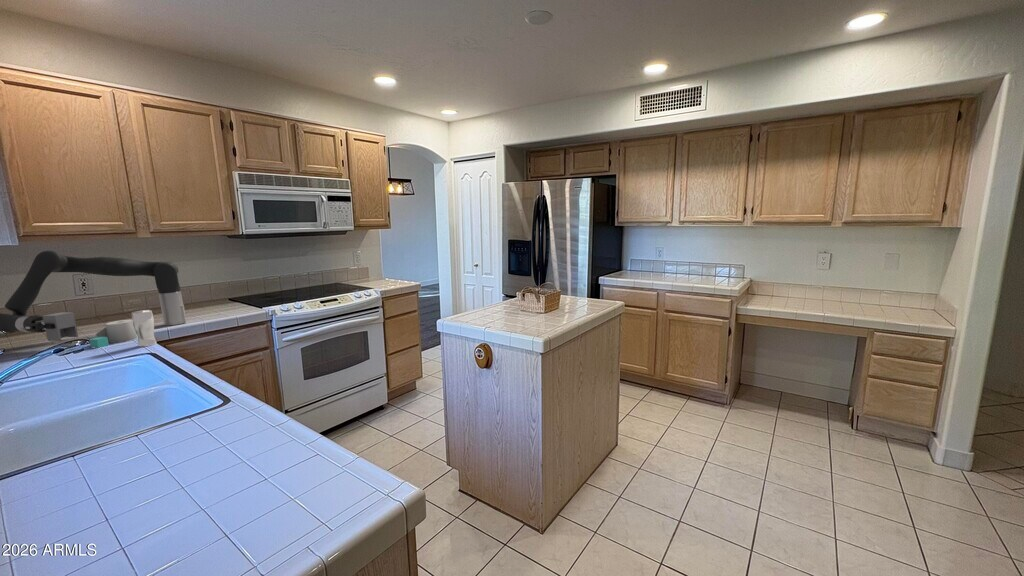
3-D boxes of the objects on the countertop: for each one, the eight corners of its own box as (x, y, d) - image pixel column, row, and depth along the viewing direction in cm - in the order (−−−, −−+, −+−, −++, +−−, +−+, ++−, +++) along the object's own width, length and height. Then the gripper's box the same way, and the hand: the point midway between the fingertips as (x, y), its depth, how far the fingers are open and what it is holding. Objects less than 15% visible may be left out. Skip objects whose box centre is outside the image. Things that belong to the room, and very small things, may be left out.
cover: (66, 336, 183) (61, 312, 181) (78, 336, 182) (73, 312, 180) (47, 340, 177) (42, 315, 175) (60, 340, 176) (54, 315, 174)
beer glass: (133, 346, 179) (127, 312, 176) (151, 342, 185) (146, 309, 183) (143, 347, 176) (136, 313, 174) (161, 343, 183) (155, 310, 180)
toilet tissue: (97, 342, 188) (93, 324, 187) (136, 336, 197) (133, 318, 196) (97, 346, 182) (93, 327, 180) (137, 339, 191) (134, 321, 190)
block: (101, 345, 183) (99, 336, 182) (108, 345, 182) (107, 336, 182) (91, 348, 179) (89, 339, 178) (98, 348, 178) (96, 339, 178)
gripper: (9, 319, 173) (41, 319, 170) (52, 311, 187) (82, 312, 184) (13, 336, 174) (45, 337, 171) (55, 327, 188) (85, 328, 186)
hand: (64, 324), depth 178 cm, fingers closed on cover, 6 cm apart
